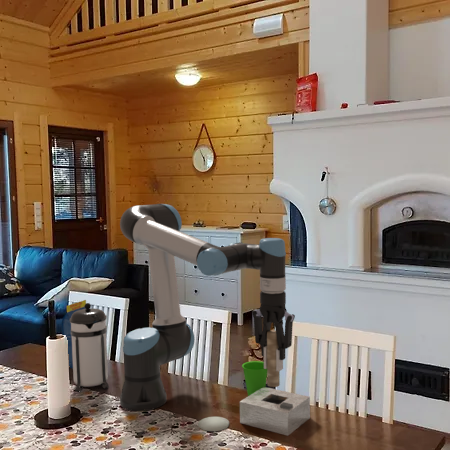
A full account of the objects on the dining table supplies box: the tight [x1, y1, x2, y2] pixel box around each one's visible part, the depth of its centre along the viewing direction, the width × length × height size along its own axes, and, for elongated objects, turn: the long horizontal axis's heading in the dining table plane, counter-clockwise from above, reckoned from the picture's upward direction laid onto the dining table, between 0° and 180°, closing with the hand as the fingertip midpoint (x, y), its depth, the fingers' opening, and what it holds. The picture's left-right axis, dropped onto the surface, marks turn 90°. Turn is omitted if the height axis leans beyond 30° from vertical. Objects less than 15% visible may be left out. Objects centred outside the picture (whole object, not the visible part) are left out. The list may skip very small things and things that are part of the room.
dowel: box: [266, 329, 281, 388], centre depth 164 cm, size 4×4×16 cm
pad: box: [198, 416, 230, 432], centre depth 163 cm, size 9×9×1 cm
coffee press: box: [70, 302, 109, 393], centre depth 198 cm, size 17×16×30 cm
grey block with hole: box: [239, 386, 311, 437], centre depth 165 cm, size 16×14×7 cm
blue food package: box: [61, 299, 87, 369], centre depth 223 cm, size 6×12×25 cm, turn 156°
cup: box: [241, 360, 267, 397], centre depth 183 cm, size 9×9×11 cm
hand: (273, 368), depth 164 cm, fingers closed on dowel, 3 cm apart
